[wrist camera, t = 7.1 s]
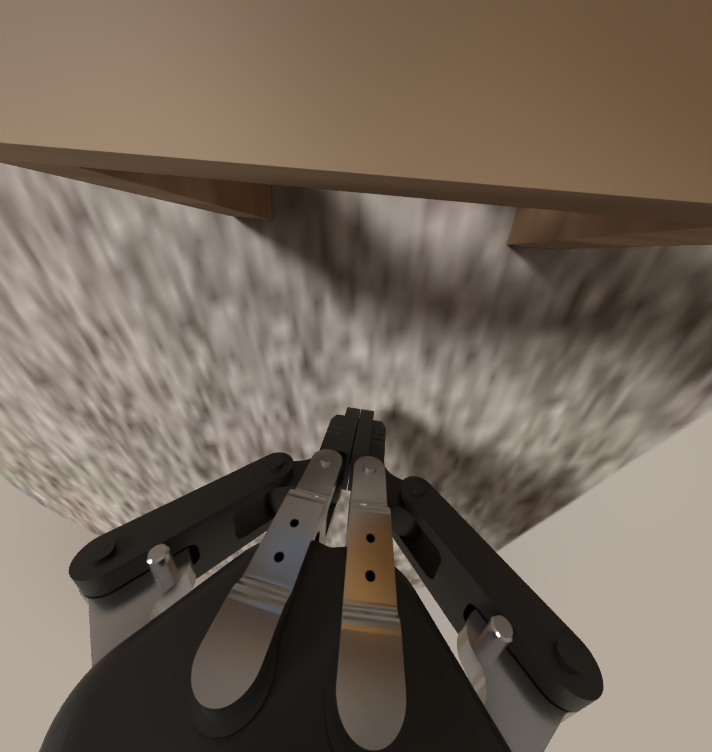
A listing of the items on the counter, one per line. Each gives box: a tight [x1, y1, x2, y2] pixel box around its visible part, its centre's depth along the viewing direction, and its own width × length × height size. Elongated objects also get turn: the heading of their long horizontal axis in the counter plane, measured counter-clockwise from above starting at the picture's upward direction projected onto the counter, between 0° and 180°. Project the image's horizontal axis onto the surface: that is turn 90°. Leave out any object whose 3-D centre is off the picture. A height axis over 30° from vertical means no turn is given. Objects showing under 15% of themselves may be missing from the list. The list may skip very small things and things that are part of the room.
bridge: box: [0, 0, 712, 249], centre depth 7 cm, size 3×15×10 cm, turn 84°
